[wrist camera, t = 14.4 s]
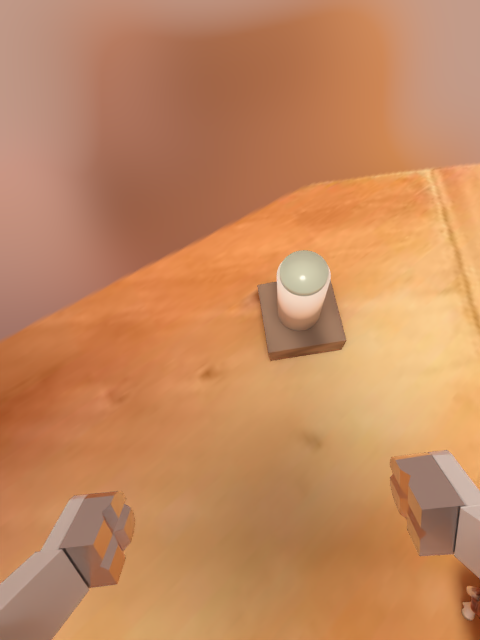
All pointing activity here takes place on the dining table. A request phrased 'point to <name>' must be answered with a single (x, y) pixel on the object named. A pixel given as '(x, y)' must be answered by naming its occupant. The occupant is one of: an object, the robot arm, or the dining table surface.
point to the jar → (301, 289)
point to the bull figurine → (472, 603)
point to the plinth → (300, 343)
